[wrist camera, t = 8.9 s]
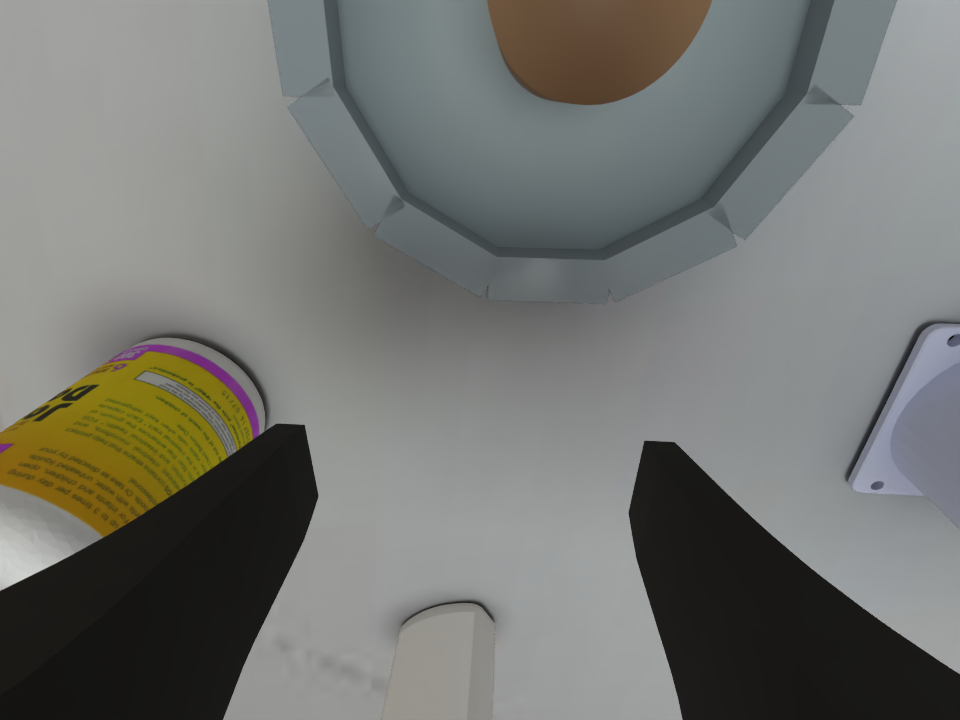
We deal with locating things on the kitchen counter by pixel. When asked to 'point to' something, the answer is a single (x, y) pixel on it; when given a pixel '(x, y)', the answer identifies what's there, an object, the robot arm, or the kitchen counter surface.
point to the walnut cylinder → (593, 44)
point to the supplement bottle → (117, 448)
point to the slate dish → (568, 138)
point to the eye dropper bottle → (443, 666)
